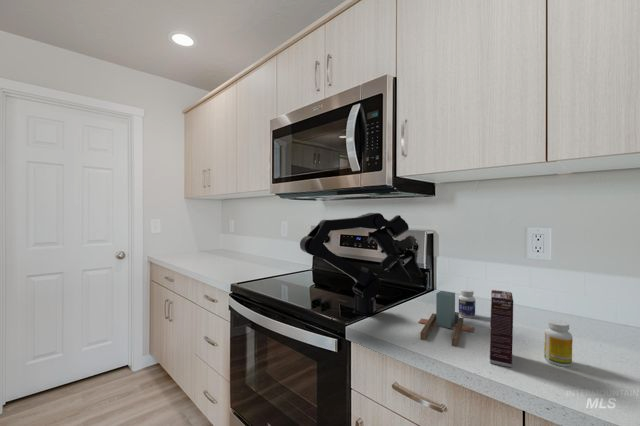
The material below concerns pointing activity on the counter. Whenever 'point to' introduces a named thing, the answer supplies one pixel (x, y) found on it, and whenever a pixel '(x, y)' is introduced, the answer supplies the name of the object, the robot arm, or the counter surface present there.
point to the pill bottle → (467, 303)
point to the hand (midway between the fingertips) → (416, 278)
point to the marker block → (445, 309)
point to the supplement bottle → (558, 343)
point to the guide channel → (457, 327)
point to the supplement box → (501, 328)
